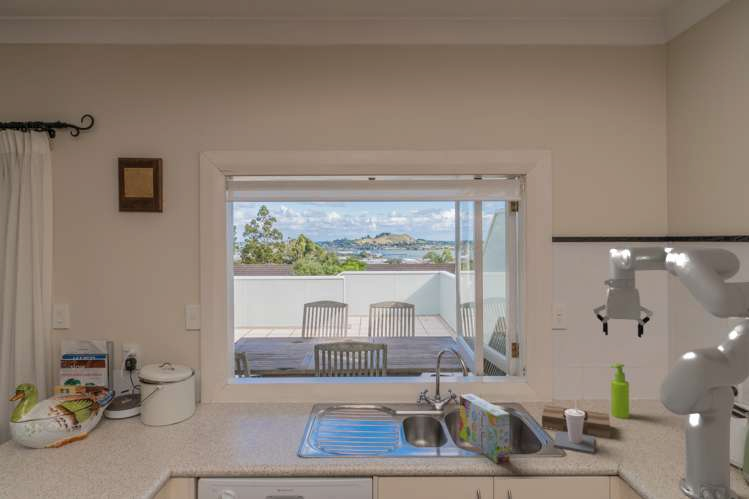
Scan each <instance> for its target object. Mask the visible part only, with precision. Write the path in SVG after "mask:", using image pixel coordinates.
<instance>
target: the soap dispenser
mask: <svg viewBox="0 0 749 499" xmlns="http://www.w3.org/2000/svg"><path fill="white" fill-rule="evenodd" d="M610 367H611V368H614V369H617V370H616V371H615V372H614V379H613V380H611V383H610V384H611V386H610V387H611V388H610V389H611V415H612V417H614V418H617V419H629V418H630V383H629V382H628V381H626V373H625V372H623V368H624V367H625V364H622V363H615V364H612V365H611V366H610Z"/></svg>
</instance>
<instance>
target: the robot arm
mask: <svg viewBox="0 0 749 499" xmlns="http://www.w3.org/2000/svg"><path fill="white" fill-rule="evenodd" d="M608 261H609V262H608V263H609V264H608V273H609V274H608V275H609V279H608V280H604V286H608V287H607V288H606V292H605V304H603V305H601V306H598V307H595V308H594V309H593V313H594V315H595V316H596V318H597V319H598V320H600V322H601V323H602V332H603V333H604V335H605V336H608V335H609V328H608V327H609V325H608V324H609V323H608V321H610V319H613V320H629V321H630V320H631V321H634V320H635V321H636V322H638V324H637V337H638V338H642V336H643V335H644V326H645V325H646V324H647V323H648V322H649V321H650V319H651V318H652V316H653V315H654V311H653V310H650V309H648V308H645V307H644V306H641V298H640V292H639V288H636V272H639V271H667V272H668V273H669V274H670V275H672V276H673V277H678V279H679V280H680V281H681V282H682V284H683V285H684V286H685V287H686V288H687V290H688V291H689V292H690V294H691V295H692V296H693V297H694V298H695V299H696V300H697V302H698V303H699V304H700V306H702V308H704V310H706V312H707V313H709V314H711V315H712V316H713V317H716V318H718V319H726V320H730V319H731V320H733V319H742V320H741V321H739V322H737V324H735V325H734V326H732V327H731V328H730V329H729V330H728V331H727V333H725V336H724V337H723V338H722V339H721V340H720V342H719V343H717V344H716V345H715V346H712V347H706V348H704V347H703V348H694V349H690V350H688V351H686V352H684V353H683V354H681V355H680V356H679V357H678V359H677V360H676V362H675V363H674V364H673V365H672V367H671V369H670V370H669V371H668V373H667V374H666V376H665V377H664V379H663V380H662V382H661V384H660V388H659V399H660V402H661V403H662V405H663V407H664V408H665V409H667V410H668V411H669V412H670V413H672V414H675V415H678V416H686V418H685V424H684V426H685V428H684V430H685V431H684V438H685V440H684V442H685V443H684V444H685V445H684V446H685V448H684V449H685V450H684V451H685V453H684V454H685V476H684V477H681V478H680V479H679V481H678V488H679V489H680V491H681V492H682V493H684V494H685V495H686V496H688V497H689V498H692V499H739V496H738V494H737V493H736V492H735V490H733V489H732V488H731V422H732V421H731V419H732V414H733V410H734V405H735V393H734V392H735V391H734V390H733V388H732V386H733V387H734V386H737V385H740V384H742V383H744V382H745V381H746V380H747V379H748V378H749V281H741V282H740V281H739V282H738V281H737V282H735V281H734V282H726V281H727V280H729V279H732V278H733V277H735V276H736V275H737V274H738V273H739V271H740V269H741V262H740V258H739V257H738V256H737V255H736V254H735V253H734V252H732V251H730V250H728V249H725V248H717V247H691V246H689V247H688V246H675V247H674V246H630V247H623V246H622V247H612V248H610V249H609V251H608ZM603 310H604V312H605V315H604V317H603V316H602V315H601V313H600V312H601V311H603ZM641 312H643V313H645V314H646V316H645V317H643V318H641V317H642V316H641Z"/></svg>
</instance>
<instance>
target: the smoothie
mask: <svg viewBox="0 0 749 499" xmlns="http://www.w3.org/2000/svg"><path fill="white" fill-rule="evenodd" d="M574 401H575V408H568V409H567V410H565V413H564V414H565V415H566V421H567V428H568V435H569V441H570V442H573V443H581V440H582V435H583V434H582V432H583V424H584V418H585V413H584V412H583V411H584V410H582V411H581V409H578V399H575V400H574Z"/></svg>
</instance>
